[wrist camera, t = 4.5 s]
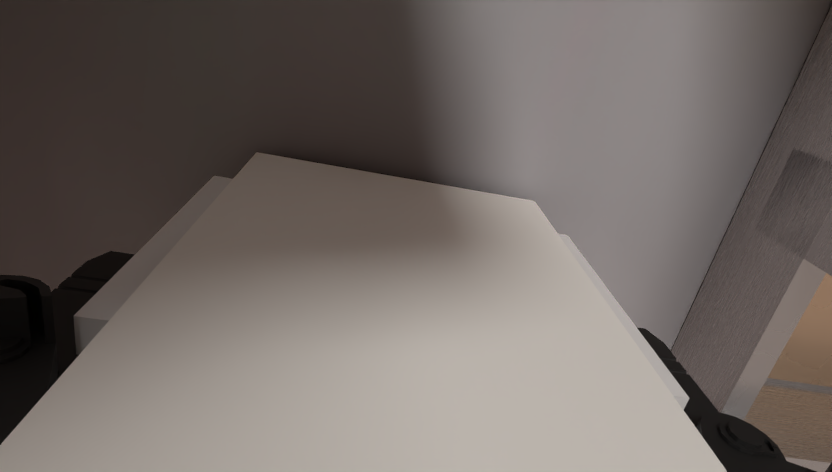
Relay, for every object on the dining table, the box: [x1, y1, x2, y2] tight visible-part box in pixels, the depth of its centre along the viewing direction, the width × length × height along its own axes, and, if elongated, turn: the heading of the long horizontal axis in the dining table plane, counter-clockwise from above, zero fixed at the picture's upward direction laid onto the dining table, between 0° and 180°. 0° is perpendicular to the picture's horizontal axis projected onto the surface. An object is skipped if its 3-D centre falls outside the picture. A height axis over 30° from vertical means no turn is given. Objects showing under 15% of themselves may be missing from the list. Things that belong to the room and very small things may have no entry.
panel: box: [0, 152, 727, 472], centre depth 11 cm, size 8×4×11 cm, turn 79°
